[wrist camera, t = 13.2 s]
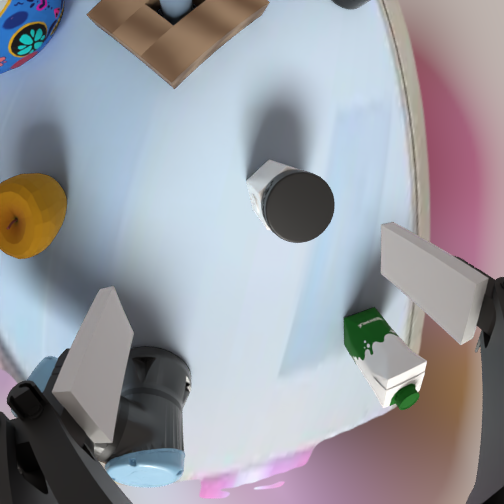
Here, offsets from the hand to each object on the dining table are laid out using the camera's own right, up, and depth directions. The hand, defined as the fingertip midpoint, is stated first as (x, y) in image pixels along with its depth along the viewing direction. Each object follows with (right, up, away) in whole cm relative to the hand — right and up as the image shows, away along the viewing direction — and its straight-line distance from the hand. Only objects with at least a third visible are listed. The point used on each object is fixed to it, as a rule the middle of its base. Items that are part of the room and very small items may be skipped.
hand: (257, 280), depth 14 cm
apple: (-31, +9, +24) cm, 40 cm away
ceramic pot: (-34, +36, +13) cm, 51 cm away
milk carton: (+21, -13, +43) cm, 50 cm away
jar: (+3, +10, +30) cm, 32 cm away
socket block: (-11, +34, +18) cm, 40 cm away
